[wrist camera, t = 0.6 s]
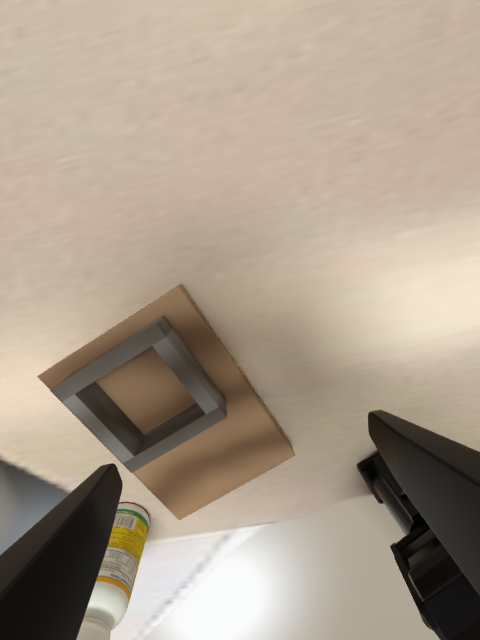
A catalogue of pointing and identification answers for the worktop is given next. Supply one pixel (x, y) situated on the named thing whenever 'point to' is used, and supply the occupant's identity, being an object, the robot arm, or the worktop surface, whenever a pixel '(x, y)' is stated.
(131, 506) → the supplement bottle
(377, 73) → the worktop surface
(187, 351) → the socket board
